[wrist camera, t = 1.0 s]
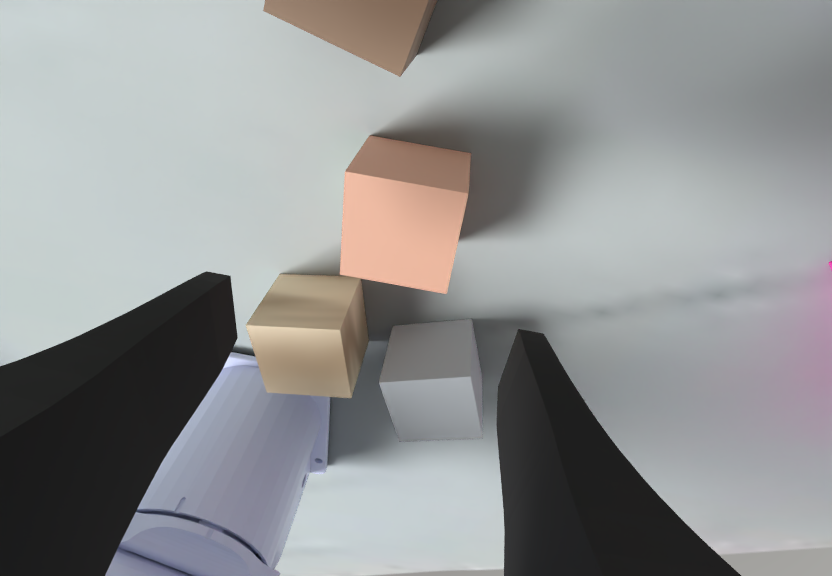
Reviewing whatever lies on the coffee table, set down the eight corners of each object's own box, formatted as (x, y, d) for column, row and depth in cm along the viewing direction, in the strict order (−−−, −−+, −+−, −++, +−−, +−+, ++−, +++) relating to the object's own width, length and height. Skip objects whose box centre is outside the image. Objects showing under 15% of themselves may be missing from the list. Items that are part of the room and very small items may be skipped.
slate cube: (482, 376, 25) (482, 438, 21) (409, 381, 25) (399, 441, 22) (471, 317, 22) (470, 376, 19) (393, 324, 23) (378, 382, 20)
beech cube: (369, 340, 24) (351, 398, 21) (295, 336, 25) (266, 392, 21) (361, 275, 22) (340, 329, 19) (280, 272, 22) (245, 325, 19)
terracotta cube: (452, 241, 20) (446, 293, 17) (363, 225, 20) (339, 274, 17) (471, 152, 18) (468, 193, 15) (370, 134, 18) (345, 171, 15)
